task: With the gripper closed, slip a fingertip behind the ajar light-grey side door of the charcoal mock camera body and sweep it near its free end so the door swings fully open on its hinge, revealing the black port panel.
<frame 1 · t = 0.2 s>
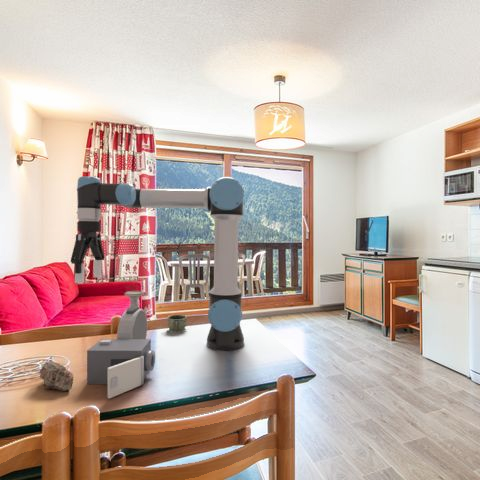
hand: (89, 280, 111), 28 cm above the table, fingers open, 13 cm apart
door: (127, 376, 87), point 4 cm above the table, hinge at 50.0°
rock: (58, 386, 90), on the table
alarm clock: (132, 357, 111), on the table
candle holder: (134, 341, 128), on the table
vessel: (177, 330, 144), on the table
camera body: (120, 376, 96), on the table
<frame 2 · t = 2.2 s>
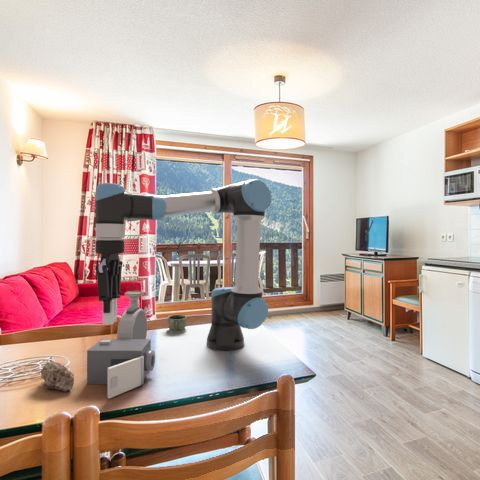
hand: (109, 322, 87), 19 cm above the table, fingers closed
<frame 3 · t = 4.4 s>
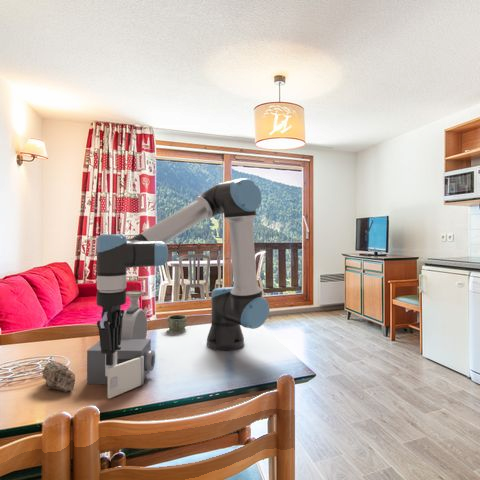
hand: (111, 374, 85), 5 cm above the table, fingers closed
door: (127, 376, 87), point 4 cm above the table, hinge at 50.0°, touching gripper
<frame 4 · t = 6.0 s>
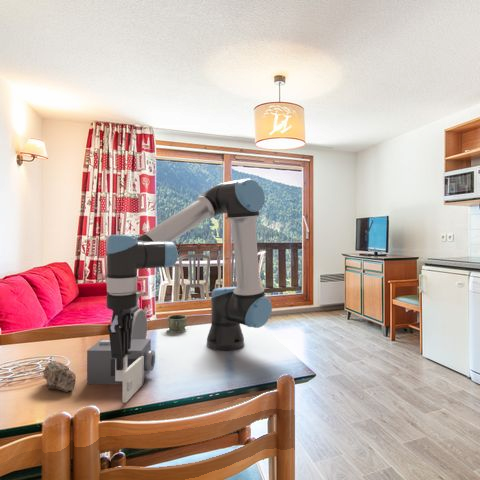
hand: (121, 379, 83), 5 cm above the table, fingers closed
door: (134, 377, 86), point 4 cm above the table, hinge at 81.9°, touching gripper
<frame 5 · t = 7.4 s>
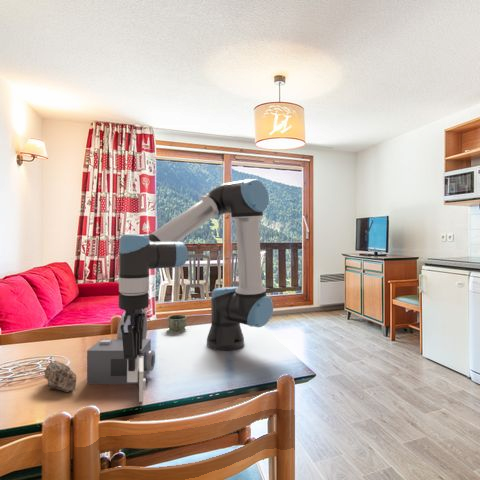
hand: (133, 380, 82), 5 cm above the table, fingers closed
door: (141, 377, 86), point 4 cm above the table, hinge at 106.7°, touching gripper
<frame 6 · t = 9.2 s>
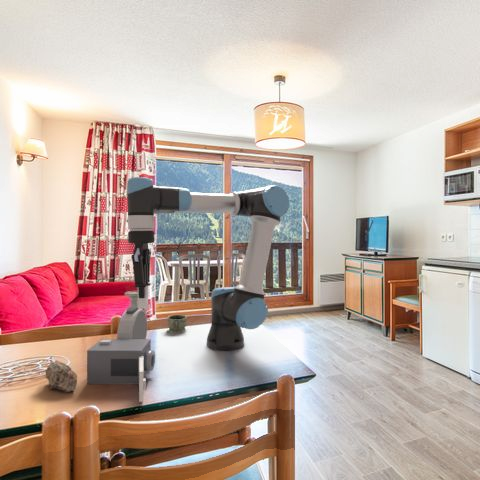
hand: (143, 308, 93), 22 cm above the table, fingers closed
door: (142, 377, 86), point 4 cm above the table, hinge at 106.8°
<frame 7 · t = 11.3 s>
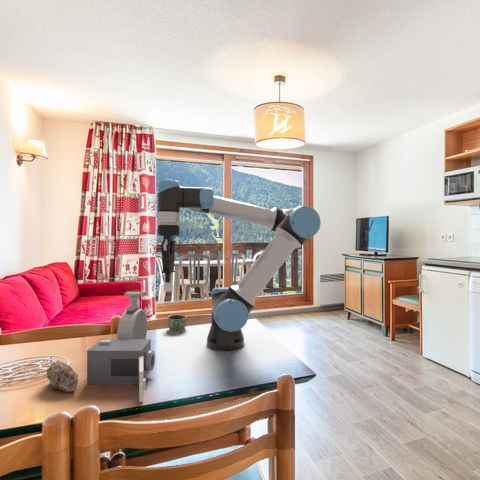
hand: (168, 291, 109), 24 cm above the table, fingers closed
at the end: door at +107° (first picture: +50°) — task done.
